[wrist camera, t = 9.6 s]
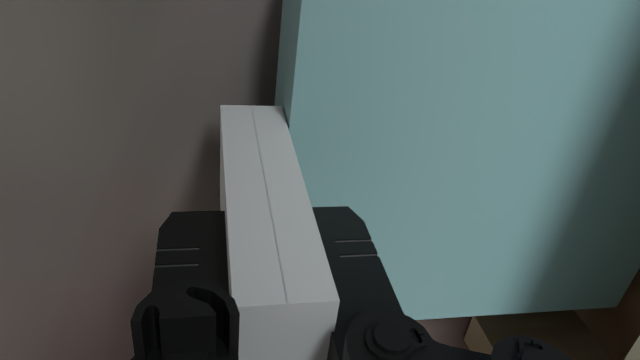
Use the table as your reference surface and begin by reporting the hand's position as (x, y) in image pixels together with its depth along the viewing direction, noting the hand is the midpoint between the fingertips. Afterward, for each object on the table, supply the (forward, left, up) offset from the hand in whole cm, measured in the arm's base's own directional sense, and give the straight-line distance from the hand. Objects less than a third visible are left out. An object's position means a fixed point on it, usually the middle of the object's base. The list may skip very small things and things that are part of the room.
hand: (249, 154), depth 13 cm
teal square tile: (0, +7, -2) cm, 7 cm away
